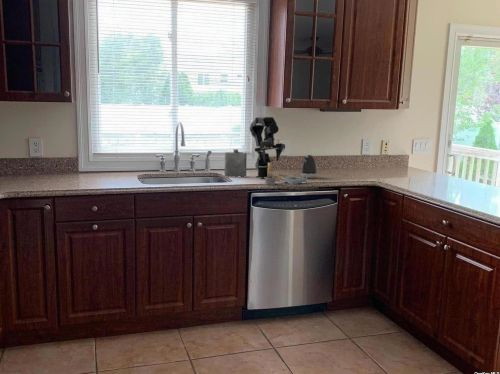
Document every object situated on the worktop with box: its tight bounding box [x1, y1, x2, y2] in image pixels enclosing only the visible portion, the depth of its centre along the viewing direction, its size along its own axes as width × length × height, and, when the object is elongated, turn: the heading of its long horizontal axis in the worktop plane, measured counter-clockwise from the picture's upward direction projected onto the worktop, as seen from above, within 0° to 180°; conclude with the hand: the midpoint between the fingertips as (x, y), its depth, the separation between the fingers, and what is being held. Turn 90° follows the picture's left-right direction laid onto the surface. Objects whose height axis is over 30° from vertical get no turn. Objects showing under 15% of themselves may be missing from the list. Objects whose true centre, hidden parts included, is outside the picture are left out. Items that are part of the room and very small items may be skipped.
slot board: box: [273, 173, 294, 181], centre depth 322 cm, size 12×10×3 cm
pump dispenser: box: [301, 154, 318, 179], centre depth 330 cm, size 10×10×15 cm
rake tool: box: [264, 162, 276, 186], centre depth 304 cm, size 5×5×13 cm
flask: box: [224, 148, 248, 177], centre depth 331 cm, size 4×14×18 cm, turn 86°
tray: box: [280, 176, 307, 185], centre depth 312 cm, size 11×11×3 cm
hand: (270, 161), depth 312 cm, fingers open, 9 cm apart
